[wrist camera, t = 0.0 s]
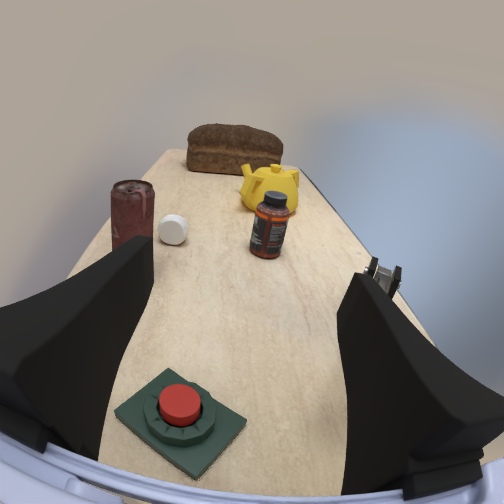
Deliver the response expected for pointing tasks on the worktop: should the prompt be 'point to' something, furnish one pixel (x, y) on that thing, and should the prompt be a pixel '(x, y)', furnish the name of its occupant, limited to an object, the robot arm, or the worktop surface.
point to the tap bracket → (394, 280)
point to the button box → (181, 437)
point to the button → (179, 405)
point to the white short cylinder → (173, 229)
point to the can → (131, 210)
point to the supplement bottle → (270, 225)
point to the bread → (231, 148)
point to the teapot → (269, 185)
